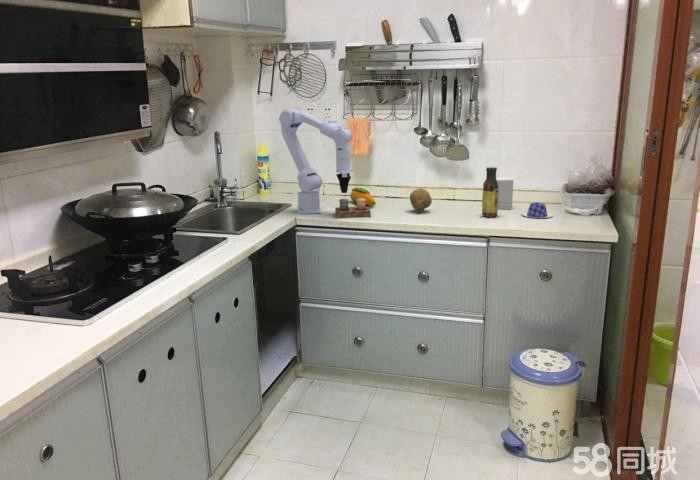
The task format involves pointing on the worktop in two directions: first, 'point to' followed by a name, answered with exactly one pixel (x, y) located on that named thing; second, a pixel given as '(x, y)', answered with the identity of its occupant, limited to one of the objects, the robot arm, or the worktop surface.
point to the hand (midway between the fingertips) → (343, 191)
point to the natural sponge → (420, 199)
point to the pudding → (537, 211)
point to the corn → (362, 196)
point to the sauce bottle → (490, 194)
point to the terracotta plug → (361, 203)
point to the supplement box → (505, 192)
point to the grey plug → (344, 204)
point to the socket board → (352, 212)
